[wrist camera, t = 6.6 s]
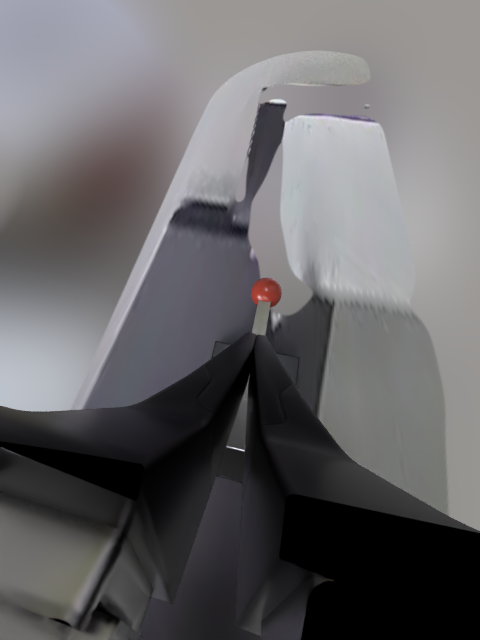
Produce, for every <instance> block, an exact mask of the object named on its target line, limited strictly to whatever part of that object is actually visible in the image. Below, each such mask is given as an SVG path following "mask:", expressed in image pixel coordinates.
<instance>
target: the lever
mask: <svg viewBox="0 0 480 640" xmlns="http://www.w3.org/2000/svg"><path fill="white" fill-rule="evenodd" d="M281 294H282V293H281V287H280V285H279V284H278V283H277V282H276V281H275V280H273V279H271V278H262V279H260V280H258V281H257V282H256V283H255V284H254V285H253V287H252V290H251V297H252V300H253V302H254V303H255V304H256V305H257V310H256V314H255V319H254V324H253V329H252V333H254V334H256V335H258V334H260V335H266V329H267V323H268V316H269V310H270V308H271V307H273V306H275V305H276V304H277V303H278V302H279V300H280V298H281ZM248 382H249V379H248ZM247 398H248V383H247V386H246V389H245V392H244V395H243V398H242V401H241V404H240V407H239V410H238V413H237V416H236V419H235V422H234V425H233V428H232V431H231V434H230V436H229V439H228V442H227V445H226V447H228V448H232V449H236V450H240V451H244V452H245V435H246V417H247Z"/></svg>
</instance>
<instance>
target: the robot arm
mask: <svg viewBox="0 0 480 640" xmlns="http://www.w3.org/2000/svg"><path fill="white" fill-rule="evenodd" d="M248 379H249V382H248ZM247 383H248V398H247V417H246V435H245V453H244V471H243V490H242V507H241V526H240V544H239V562H238V581H237V599H236V617H235V626H236V627H237V628H240V629H243V630H245V631H248V632H251V633H254V634H257V635H259V636H261V638H260V640H480V531H478V530H476V529H474V528H471V527H469V526H467V525H465V524H463V523H461V522H459V521H457V520H455V519H452V518H451V517H449V516H447V515H445V514H443V513H442V512H440V511H438V510H436V509H435V508H433V507H431V506H429V505H428V504H426V503H424V502H422V501H421V500H419V499H417V498H416V497H414V496H412V495H410V494H409V493H407V492H405V491H403V490H402V489H400V488H398V487H396V486H395V485H393V484H391V483H390V482H388V481H386V480H384V479H383V478H381V477H379V476H377V475H376V474H374V473H372V472H371V471H369V470H367V469H365V468H364V467H362V466H360V465H359V464H357V463H356V462H355V461H353V460H352V459H351V458H350V457H349V456H348V455H347V454H346V453H345V452H344V451H343V450H342V449H341V448H340V447H339V445H338V444H337V443H336V441H335V440H334V439H333V438H332V436H331V435H330V434H329V432H328V431H327V430H326V428H325V427H324V426H323V424H322V423H321V422H320V420H319V419H318V418H317V416H316V415H315V414H314V413H313V411H312V410H311V408H310V407H309V406H308V404H307V403H306V401H305V400H304V398H303V397H302V395H301V394H300V392H299V391H298V389H297V387H296V386H295V384H294V383H293V381H292V379H291V377H290V376H289V374H288V372H287V370H286V369H285V367H284V365H283V364H282V362H281V360H280V359H279V357H278V355H277V354H276V352H275V350H274V348H273V347H272V345H271V343H270V342H269V340H268V338H267V337H266V336H265V335H260V334H258V335H256V334H254V333H249V332H248V333H246V334H245V335H244V336H242V337H241V338H240V339H238V340H237V341H235V342H234V343H233V344H231V345H230V346H229V347H227V348H226V349H224V350H223V351H222V352H220V353H219V354H218V355H216V356H215V357H213V358H212V359H211V360H209V361H208V362H207V363H205V364H204V365H202V366H201V367H200V368H198V369H197V370H195V371H194V372H192V373H191V374H189V375H188V376H186V377H184V378H183V379H181V380H179V381H178V382H176V383H174V384H173V385H171V386H169V387H167V388H166V389H164V390H162V391H160V392H158V393H157V394H155V395H153V396H151V397H150V398H148V399H146V400H144V401H142V402H140V403H137V404H135V405H131V406H127V407H118V408H102V409H85V410H69V411H52V412H31V411H21V410H15V409H11V408H7V407H3V406H0V640H141V638H142V636H141V635H140V634H139V631H140V628H141V625H142V622H143V619H144V616H145V613H146V610H147V608H148V605H149V602H150V599H151V597H154V598H157V599H159V600H162V601H165V602H168V603H171V604H173V602H174V599H175V596H176V593H177V590H178V587H179V584H180V581H181V578H182V575H183V572H184V569H185V566H186V563H187V560H188V558H189V555H190V552H191V549H192V546H193V543H194V540H195V537H196V534H197V531H198V528H199V525H200V522H201V519H202V516H203V513H204V510H205V507H206V504H207V502H208V499H209V495H210V493H211V490H212V487H213V484H214V481H215V478H216V475H217V472H218V469H219V466H220V463H221V460H222V457H223V454H224V451H225V448H226V445H227V442H228V439H229V436H230V434H231V431H232V428H233V425H234V422H235V419H236V416H237V413H238V410H239V407H240V404H241V401H242V398H243V395H244V392H245V389H246V386H247Z"/></svg>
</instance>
